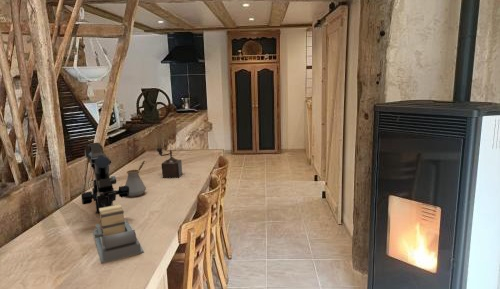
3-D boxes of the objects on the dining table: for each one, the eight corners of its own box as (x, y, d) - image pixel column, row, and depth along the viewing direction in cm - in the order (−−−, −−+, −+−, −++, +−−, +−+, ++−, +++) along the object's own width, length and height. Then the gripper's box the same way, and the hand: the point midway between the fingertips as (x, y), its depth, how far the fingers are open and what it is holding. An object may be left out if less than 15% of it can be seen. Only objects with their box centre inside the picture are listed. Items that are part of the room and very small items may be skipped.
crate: (101, 231, 142) (98, 208, 140) (122, 227, 146) (120, 204, 144) (103, 238, 136) (100, 214, 134) (125, 233, 140) (123, 209, 138)
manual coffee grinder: (183, 173, 228) (181, 145, 225) (178, 178, 217) (176, 149, 214) (159, 173, 229) (157, 146, 226) (154, 178, 218) (151, 150, 215)
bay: (90, 232, 143) (88, 210, 142) (128, 224, 150) (126, 202, 149) (98, 264, 118) (95, 237, 117) (143, 252, 125) (141, 227, 123)
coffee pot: (140, 198, 183) (138, 170, 180) (119, 198, 184) (116, 170, 181) (156, 185, 204) (154, 160, 201) (137, 185, 205) (135, 160, 202)
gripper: (78, 174, 143) (84, 208, 136) (126, 167, 152) (134, 198, 145) (79, 187, 152) (84, 220, 144) (125, 180, 160) (132, 211, 153)
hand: (109, 212), depth 146 cm, fingers closed
